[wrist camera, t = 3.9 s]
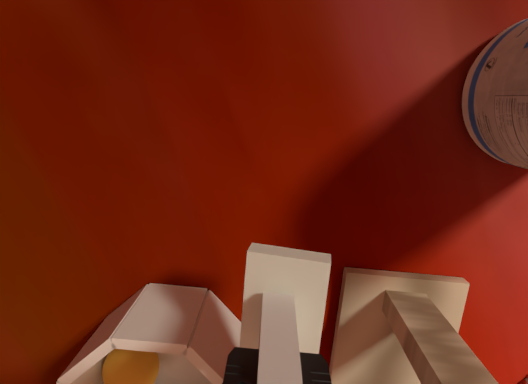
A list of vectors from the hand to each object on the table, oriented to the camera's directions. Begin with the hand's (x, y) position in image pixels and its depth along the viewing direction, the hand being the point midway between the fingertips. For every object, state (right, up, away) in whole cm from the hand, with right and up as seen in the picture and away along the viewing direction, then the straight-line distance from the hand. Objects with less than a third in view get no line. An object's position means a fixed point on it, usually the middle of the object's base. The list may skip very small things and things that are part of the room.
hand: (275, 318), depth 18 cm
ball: (-10, -7, +10) cm, 16 cm away
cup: (-8, -7, +12) cm, 16 cm away
